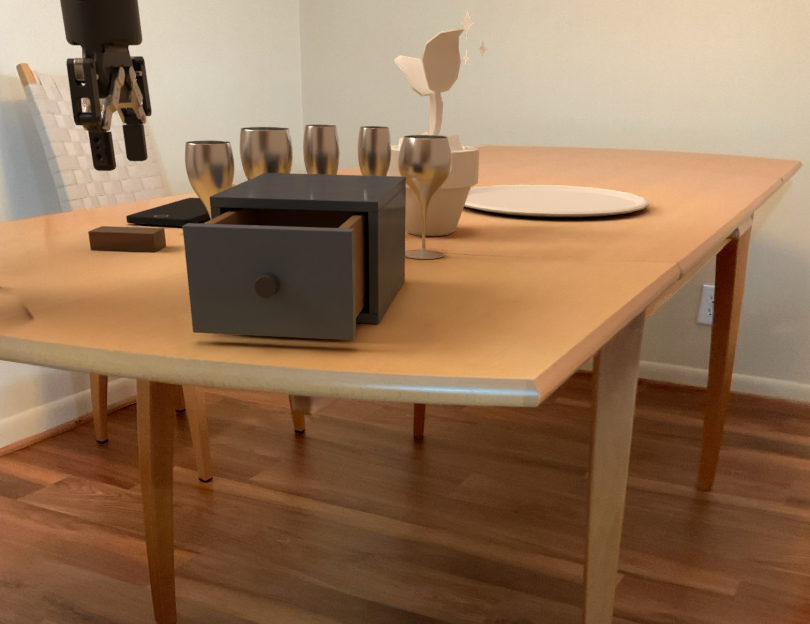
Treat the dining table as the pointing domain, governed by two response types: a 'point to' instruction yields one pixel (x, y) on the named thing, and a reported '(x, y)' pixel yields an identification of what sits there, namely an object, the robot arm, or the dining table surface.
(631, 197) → the plate
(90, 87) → the robot arm
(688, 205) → the dining table surface
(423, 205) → the goblet set
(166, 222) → the cell phone
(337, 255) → the drawer
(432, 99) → the potted plant
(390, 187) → the cabinet
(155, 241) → the brown rectangular block
